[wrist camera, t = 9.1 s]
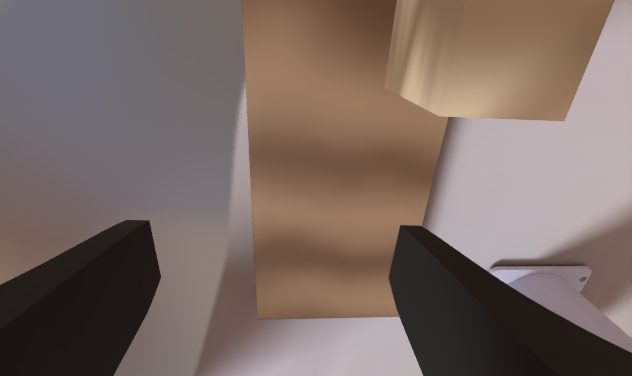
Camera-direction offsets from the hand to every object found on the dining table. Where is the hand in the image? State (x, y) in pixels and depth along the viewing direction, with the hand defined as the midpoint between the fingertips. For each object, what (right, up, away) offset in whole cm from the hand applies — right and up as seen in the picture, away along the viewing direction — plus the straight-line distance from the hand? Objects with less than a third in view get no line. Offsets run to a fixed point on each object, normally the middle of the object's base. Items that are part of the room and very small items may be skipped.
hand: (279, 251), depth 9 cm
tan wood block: (+7, +10, +6) cm, 13 cm away
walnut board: (+3, +3, +9) cm, 10 cm away
